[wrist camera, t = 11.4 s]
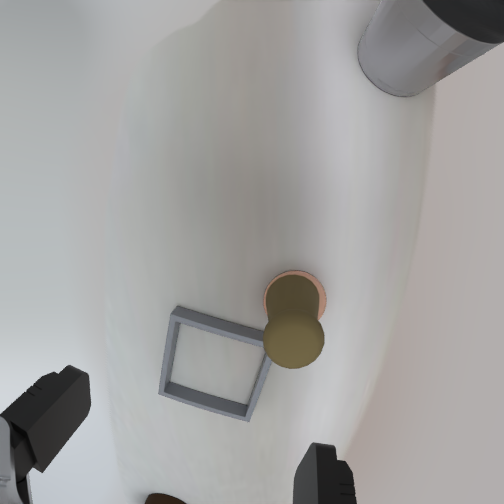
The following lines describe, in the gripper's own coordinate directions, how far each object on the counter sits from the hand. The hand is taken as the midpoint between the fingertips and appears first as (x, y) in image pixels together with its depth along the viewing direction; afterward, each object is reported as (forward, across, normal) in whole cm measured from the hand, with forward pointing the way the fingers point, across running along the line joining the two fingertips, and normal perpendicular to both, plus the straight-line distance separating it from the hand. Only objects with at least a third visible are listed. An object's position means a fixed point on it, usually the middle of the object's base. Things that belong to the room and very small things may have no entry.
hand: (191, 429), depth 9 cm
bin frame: (+26, +2, +15) cm, 31 cm away
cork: (+26, -5, +4) cm, 27 cm away
